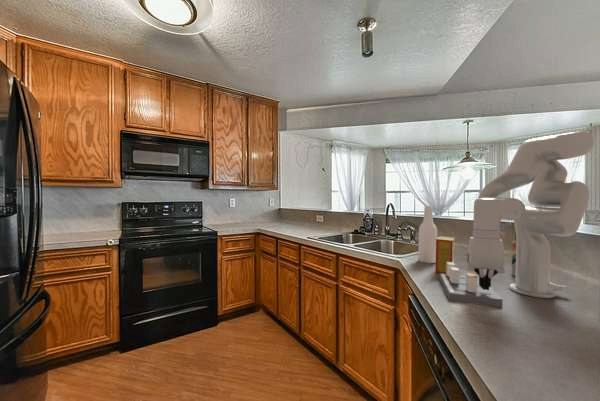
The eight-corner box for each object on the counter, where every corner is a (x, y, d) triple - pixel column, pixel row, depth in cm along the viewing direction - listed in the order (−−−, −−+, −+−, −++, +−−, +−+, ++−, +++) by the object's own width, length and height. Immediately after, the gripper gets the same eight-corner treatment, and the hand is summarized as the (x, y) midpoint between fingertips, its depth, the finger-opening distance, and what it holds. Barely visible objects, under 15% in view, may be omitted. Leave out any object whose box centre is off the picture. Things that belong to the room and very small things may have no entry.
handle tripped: (474, 288, 92) (474, 273, 92) (477, 292, 89) (477, 277, 88) (465, 287, 93) (466, 273, 93) (468, 291, 89) (468, 276, 89)
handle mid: (457, 280, 101) (457, 267, 101) (459, 283, 97) (459, 270, 97) (449, 279, 102) (449, 266, 102) (451, 283, 98) (451, 269, 98)
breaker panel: (480, 283, 107) (481, 277, 107) (502, 307, 84) (502, 299, 84) (439, 278, 112) (439, 272, 112) (449, 300, 90) (449, 292, 90)
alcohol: (433, 260, 144) (434, 205, 144) (438, 264, 136) (440, 206, 135) (416, 259, 146) (417, 205, 145) (420, 263, 137) (421, 205, 137)
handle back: (453, 274, 109) (453, 262, 108) (455, 277, 105) (455, 265, 105) (446, 273, 109) (446, 261, 109) (447, 276, 106) (448, 264, 106)
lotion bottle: (521, 274, 119) (523, 230, 119) (531, 278, 114) (532, 232, 113) (508, 273, 120) (509, 230, 120) (517, 277, 114) (518, 232, 114)
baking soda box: (451, 275, 117) (452, 239, 117) (435, 272, 121) (436, 238, 121) (454, 270, 125) (455, 237, 124) (439, 268, 129) (439, 235, 128)
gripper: (508, 234, 90) (506, 287, 90) (458, 231, 95) (457, 282, 95) (518, 237, 83) (516, 295, 83) (463, 234, 88) (461, 289, 88)
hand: (484, 288), depth 89 cm, fingers closed
